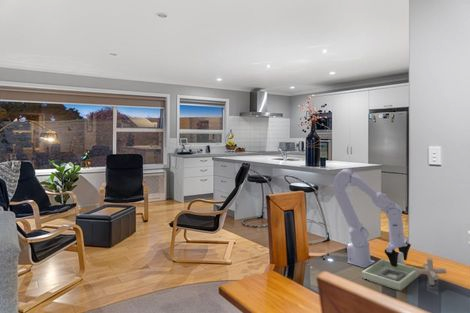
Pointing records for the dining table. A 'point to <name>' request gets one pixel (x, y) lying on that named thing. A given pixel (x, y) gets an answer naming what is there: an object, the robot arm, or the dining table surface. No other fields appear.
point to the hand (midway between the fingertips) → (399, 263)
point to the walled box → (390, 274)
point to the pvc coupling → (400, 258)
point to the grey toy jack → (431, 271)
